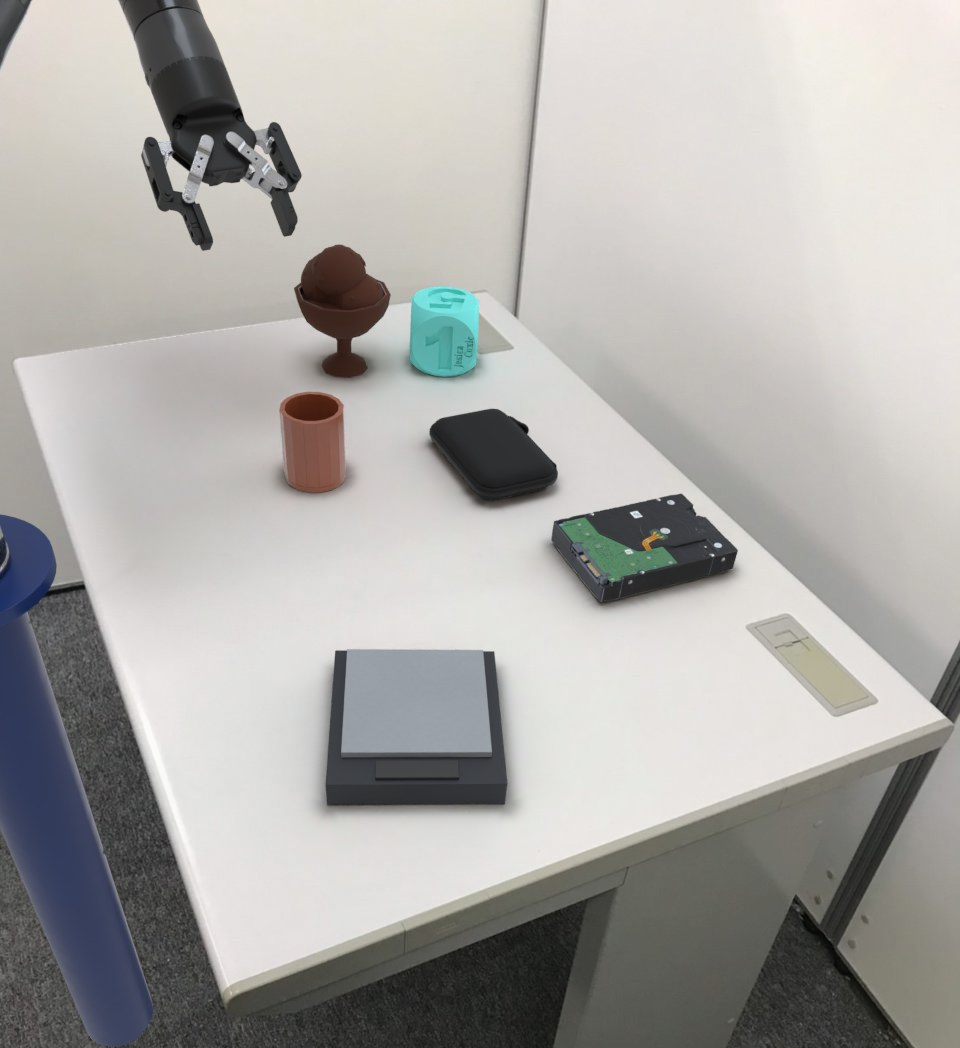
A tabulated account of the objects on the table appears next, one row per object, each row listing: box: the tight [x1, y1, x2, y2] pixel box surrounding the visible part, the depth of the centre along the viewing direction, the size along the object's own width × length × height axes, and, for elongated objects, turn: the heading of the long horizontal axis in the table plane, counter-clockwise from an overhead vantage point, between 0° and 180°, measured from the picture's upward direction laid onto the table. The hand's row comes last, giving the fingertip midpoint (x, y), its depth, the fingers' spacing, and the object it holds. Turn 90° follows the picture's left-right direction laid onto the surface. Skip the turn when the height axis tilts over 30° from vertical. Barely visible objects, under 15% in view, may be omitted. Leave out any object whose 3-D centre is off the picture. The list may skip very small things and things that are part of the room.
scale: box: [325, 648, 508, 807], centre depth 77 cm, size 13×14×3 cm
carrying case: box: [428, 408, 559, 502], centre depth 107 cm, size 11×3×15 cm
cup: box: [278, 391, 347, 494], centre depth 101 cm, size 6×6×8 cm
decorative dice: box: [409, 285, 480, 378], centre depth 122 cm, size 8×8×8 cm
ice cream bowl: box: [293, 244, 392, 378], centre depth 117 cm, size 11×11×15 cm
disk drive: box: [551, 493, 739, 603], centre depth 96 cm, size 10×3×15 cm
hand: (250, 239), depth 97 cm, fingers open, 8 cm apart
